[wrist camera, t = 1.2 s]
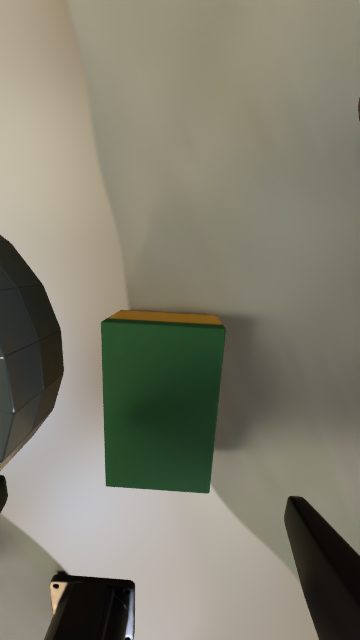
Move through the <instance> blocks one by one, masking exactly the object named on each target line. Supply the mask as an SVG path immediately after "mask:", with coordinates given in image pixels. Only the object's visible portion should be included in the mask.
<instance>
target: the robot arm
mask: <svg viewBox="0 0 360 640" xmlns="http://www.w3.org/2000/svg"><path fill="white" fill-rule="evenodd" d="M7 497H8V493H7V486H6V480H5V477H4V476H3V475H0V513H1V511H2V509H3V507H4V505H5V503H6V501H7ZM284 521H285V526H286V530H287V534H288V537H289V541H290V545H291V549H292V552H293V556H294V560H295V564H296V567H297V571H298V575H299V578H300V582H301V586H302V589H303V593H304V596H305V599H306V602H307V605H308V608H309V611H310V614H311V617H312V620H313V623H314V626H315V629H316V631H317V634H318V637H319V640H360V556H359V555H358V554H357V552H356V551H355V550H354V549H353V548H352V547H351V546H350V545H349V544H348V543H347V542H346V541H345V540H344V539H343V538H342V537H341V536H340V535H339V534H338V533H337V532H336V531H335V530H334V529H333V528H332V527H331V526H330V525H329V523H328V522H327V521H326V520H325V519H324V518H323V517H322V516H321V515H320V514H319V513H318V512H317V511H316V510H315V509H314V508H313V507H312V506H311V505H310V504H309V503H308V502H307V501H306V500H305V499H304V498H303V497H299V496H289V497H288V500H287V505H286V510H285V515H284ZM50 594H51V602H52V611H53V618H52V620H51V623H50V626H49V628H48V631H47V633H46V636H45V639H44V640H133V639H134V630H135V583H134V582H133V581H131V580H123V579H110V578H97V577H85V576H84V577H83V576H72V575H60V574H57V575H54V576H53V578H52V580H51V582H50Z"/></svg>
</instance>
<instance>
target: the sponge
mask: <svg viewBox="0 0 360 640" xmlns="http://www.w3.org/2000/svg"><path fill="white" fill-rule="evenodd" d="M225 332H226V329H225V328H224V326H223V325H222V323H221V322H220V320H219V319H218V317H217V316H216V315H202V314H184V313H166V312H149V311H131V310H120V311H119V312H117V313H116V314H114V315H112V316H111V317H109V318H107V319H105V320H104V321H102V322H101V333H102V334H101V335H102V367H103V368H102V369H103V404H104V437H105V471H106V486H111V487H124V488H139V489H153V490H168V491H181V492H196V493H209V491H210V490H209V489H210V481H211V471H212V461H213V451H214V441H215V431H216V421H217V411H218V402H219V392H220V382H221V372H222V362H223V352H224V342H225Z"/></svg>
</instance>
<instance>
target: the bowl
mask: <svg viewBox="0 0 360 640" xmlns="http://www.w3.org/2000/svg"><path fill="white" fill-rule="evenodd" d="M63 372H64V366H63V353H62V339H61V330H60V326H59V324H58V321H57V319H56V316H55V314H54V311H53V309H52V306H51V304H50V301H49V299H48V296H47V293H46V291H45V288H44V286H43V285H42V283H41V282H40V280H39V279H38V278H37V276H36V275H35V274H34V273H33V271H32V270H31V269H30V267H29V266H28V265H27V263H26V262H25V261H24V259H23V258H22V257H21V256H20V254H19V253H18V252H17V250H16V249H15V248H14V246H13V245H12V244H11V243H10V242H9V241H7V240H6V239H4V238H3V237H2V236H1V235H0V471H1V470H2V469H3V468H4V466H5V465H6V464H7V463H8V462H9V461H10V460H11V459H12V458H13V457H14V456H15V455H16V453H17V452H18V451H19V450H20V449H21V448H22V447H23V445H25V444H26V443H27V442H28V441H29V439H30V438H31V437H32V436H33V435H34V434H35V432H36V431H37V430H38V428H39V427H40V426H41V424H42V423H43V422H44V421H45V419H46V418H47V417H48V415H49V414H50V413H51V412H52V410H53V408H54V405H55V402H56V398H57V395H58V391H59V387H60V384H61V380H62V376H63Z"/></svg>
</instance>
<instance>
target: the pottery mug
mask: <svg viewBox="0 0 360 640" xmlns="http://www.w3.org/2000/svg"><path fill="white" fill-rule="evenodd" d="M358 112H359V121H360V99H359V104H358Z"/></svg>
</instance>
